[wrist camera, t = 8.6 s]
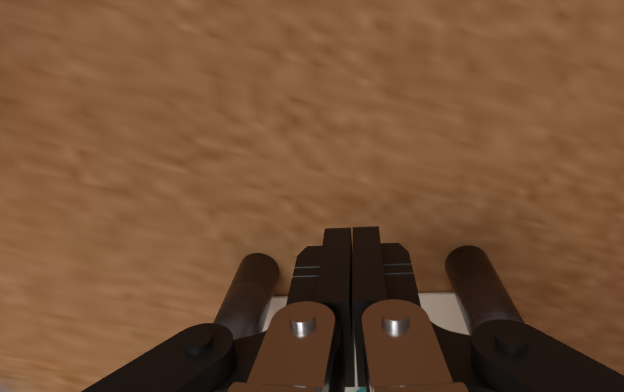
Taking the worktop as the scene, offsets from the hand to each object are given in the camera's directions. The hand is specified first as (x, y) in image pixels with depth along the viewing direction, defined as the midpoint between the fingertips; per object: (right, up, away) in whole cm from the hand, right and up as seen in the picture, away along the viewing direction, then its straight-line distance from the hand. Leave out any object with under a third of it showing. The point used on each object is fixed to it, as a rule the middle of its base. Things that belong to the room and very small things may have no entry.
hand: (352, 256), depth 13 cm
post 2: (+8, -3, +15) cm, 17 cm away
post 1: (-5, -3, +16) cm, 17 cm away
